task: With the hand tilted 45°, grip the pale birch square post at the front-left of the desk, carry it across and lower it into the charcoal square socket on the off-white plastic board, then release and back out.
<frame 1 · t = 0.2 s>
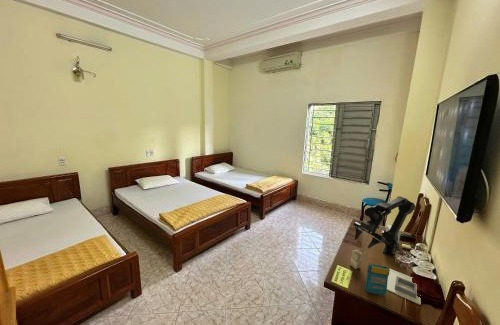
hand: (361, 243, 130), 14 cm above the table, tool tilted 35°, fingers open, 9 cm apart
handheld gaming console: (374, 292, 111), on the table
supplement box: (390, 243, 157), on the table
birch post: (354, 266, 130), on the table
pocket board: (403, 285, 116), on the table
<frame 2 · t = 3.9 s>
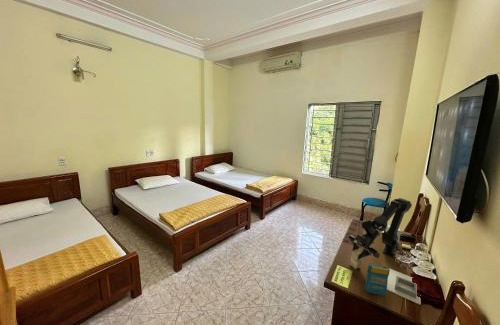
hand: (354, 256, 128), 7 cm above the table, tool tilted 45°, fingers closed on birch post, 4 cm apart
birch post: (354, 266, 130), on the table, touching gripper
everything else where it was.
when the fingers open (9 cm above the table, at t = 9.5 s): birch post drops 1 cm, resting on pocket board.
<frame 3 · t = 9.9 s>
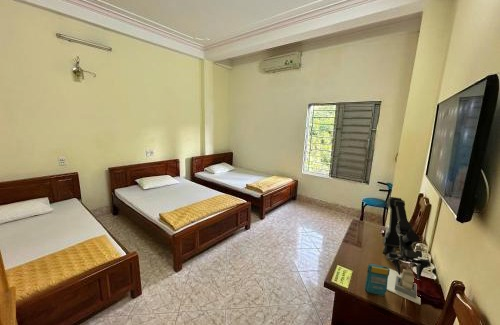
hand: (409, 277, 110), 9 cm above the table, tool tilted 45°, fingers open, 8 cm apart
birch post: (405, 288, 113), point 1 cm above the table, touching pocket board
everything else where it was.
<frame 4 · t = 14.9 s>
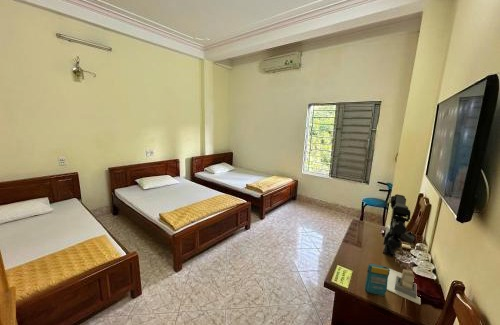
hand: (393, 249, 126), 13 cm above the table, tool pointing down, fingers open, 9 cm apart
nothing on the table moved.
at the end: birch post 0.0 cm from the target spot on the pocket board, point 0.6 cm above the pocket board's base; birch post tilted 0°; the gripper is holding nothing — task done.
